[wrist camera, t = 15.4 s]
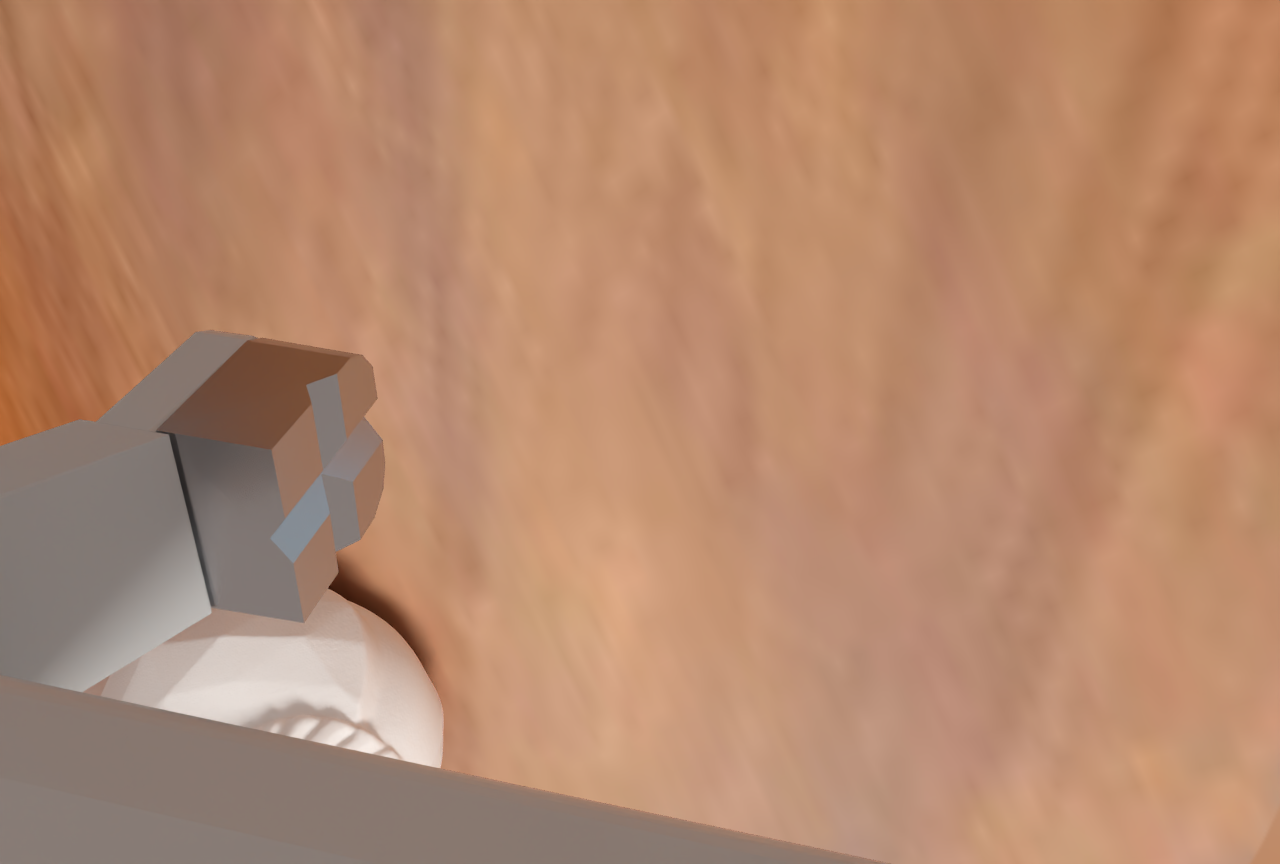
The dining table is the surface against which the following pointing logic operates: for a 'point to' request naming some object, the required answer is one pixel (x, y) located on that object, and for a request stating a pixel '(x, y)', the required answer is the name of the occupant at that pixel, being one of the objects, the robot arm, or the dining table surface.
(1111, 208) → the dining table surface
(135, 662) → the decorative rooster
